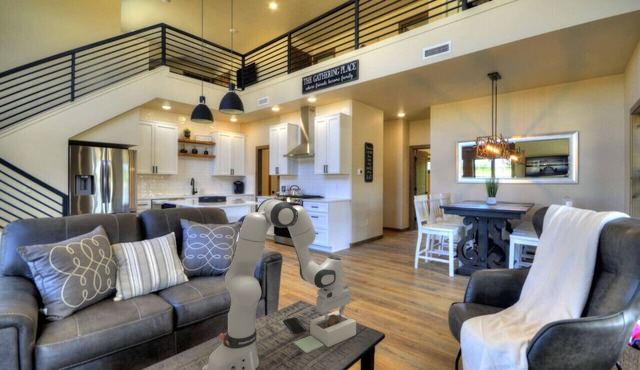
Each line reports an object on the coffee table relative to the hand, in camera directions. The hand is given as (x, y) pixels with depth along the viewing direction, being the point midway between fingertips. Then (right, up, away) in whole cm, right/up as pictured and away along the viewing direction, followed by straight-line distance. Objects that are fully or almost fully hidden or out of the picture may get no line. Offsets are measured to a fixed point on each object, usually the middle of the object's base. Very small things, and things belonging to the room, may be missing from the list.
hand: (334, 316), depth 150 cm
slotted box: (-1, -9, 0) cm, 9 cm away
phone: (-20, -9, +8) cm, 23 cm away
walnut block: (0, -7, 0) cm, 7 cm away
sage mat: (-12, -9, -9) cm, 18 cm away
